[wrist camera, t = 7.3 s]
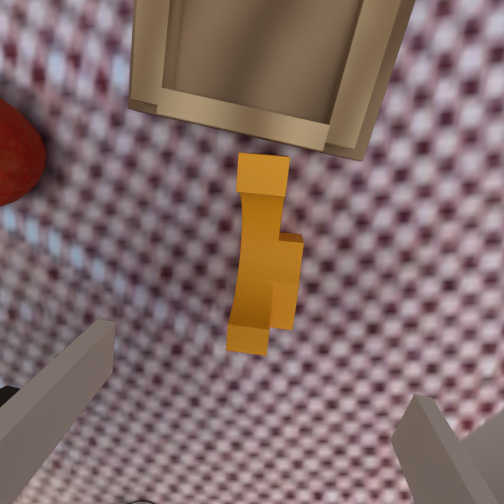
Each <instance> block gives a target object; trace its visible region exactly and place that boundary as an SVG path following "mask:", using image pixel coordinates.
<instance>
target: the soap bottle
mask: <svg viewBox="0 0 504 504" xmlns="http://www.w3.org/2000/svg"><path fill="white" fill-rule="evenodd" d="M132 504H152V503H149V502H143V501H139V502H136V503H132Z"/></svg>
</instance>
